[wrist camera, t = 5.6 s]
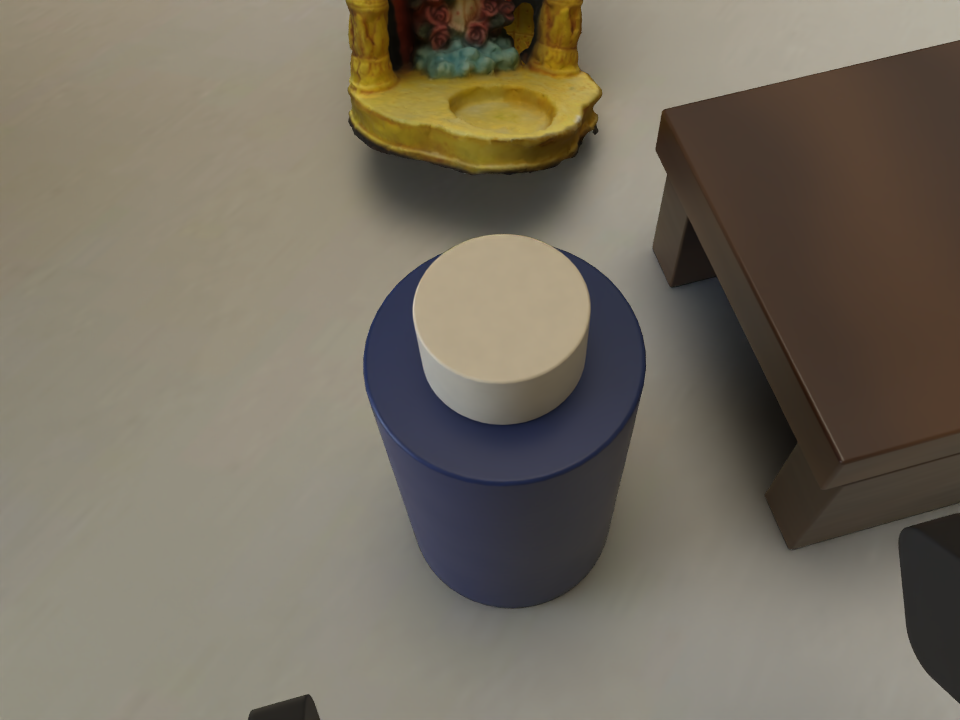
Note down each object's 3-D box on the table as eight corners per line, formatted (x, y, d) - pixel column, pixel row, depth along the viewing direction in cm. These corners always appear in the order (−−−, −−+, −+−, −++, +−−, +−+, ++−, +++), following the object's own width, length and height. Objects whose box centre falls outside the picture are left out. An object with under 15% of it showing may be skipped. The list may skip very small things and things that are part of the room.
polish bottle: (438, 633, 22) (382, 483, 14) (394, 448, 25) (322, 222, 16) (637, 577, 23) (706, 397, 14) (574, 401, 25) (598, 156, 17)
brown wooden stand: (769, 556, 23) (841, 464, 18) (636, 251, 28) (660, 108, 22) (1192, 437, 24) (1378, 316, 19) (991, 162, 29) (1095, 6, 24)
